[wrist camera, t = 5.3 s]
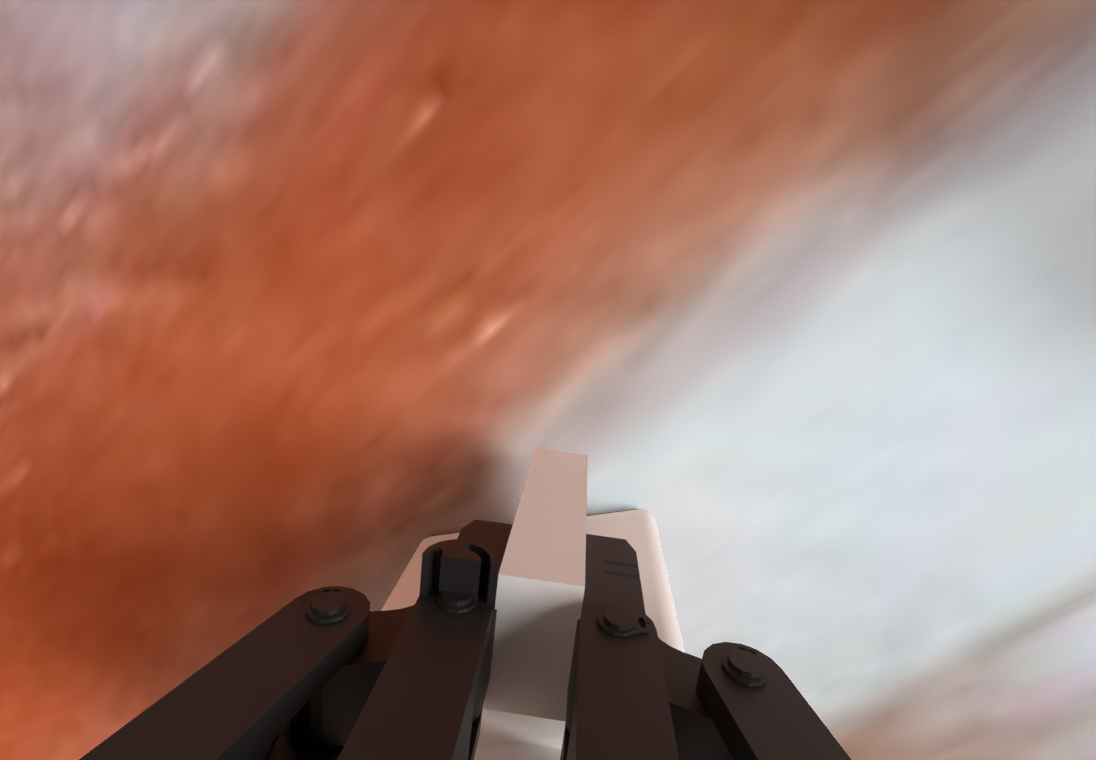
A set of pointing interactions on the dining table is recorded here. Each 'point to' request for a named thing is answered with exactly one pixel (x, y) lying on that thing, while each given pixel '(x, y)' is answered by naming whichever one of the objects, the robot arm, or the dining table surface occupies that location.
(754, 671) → the robot arm
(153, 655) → the dining table surface
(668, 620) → the container
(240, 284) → the dining table surface
